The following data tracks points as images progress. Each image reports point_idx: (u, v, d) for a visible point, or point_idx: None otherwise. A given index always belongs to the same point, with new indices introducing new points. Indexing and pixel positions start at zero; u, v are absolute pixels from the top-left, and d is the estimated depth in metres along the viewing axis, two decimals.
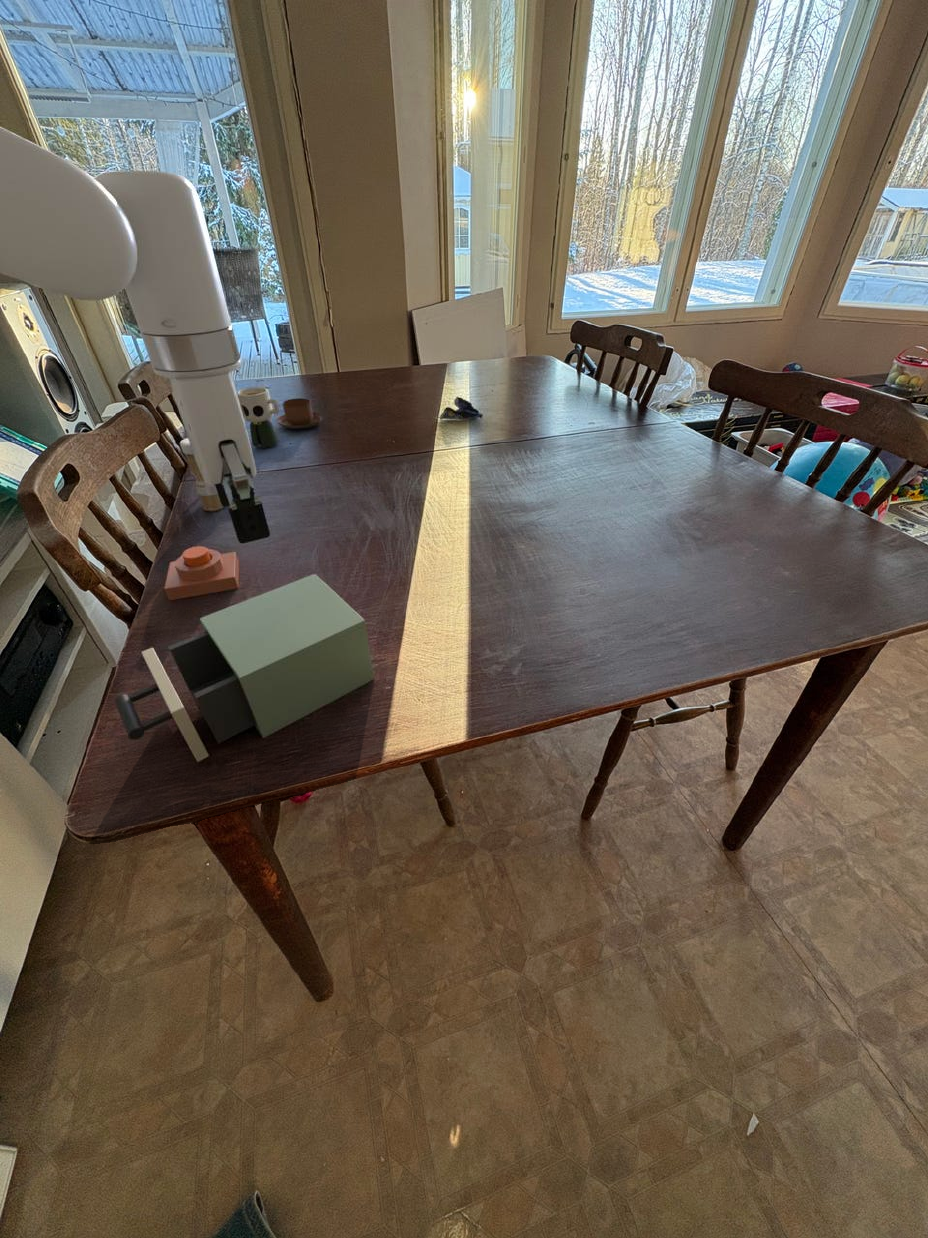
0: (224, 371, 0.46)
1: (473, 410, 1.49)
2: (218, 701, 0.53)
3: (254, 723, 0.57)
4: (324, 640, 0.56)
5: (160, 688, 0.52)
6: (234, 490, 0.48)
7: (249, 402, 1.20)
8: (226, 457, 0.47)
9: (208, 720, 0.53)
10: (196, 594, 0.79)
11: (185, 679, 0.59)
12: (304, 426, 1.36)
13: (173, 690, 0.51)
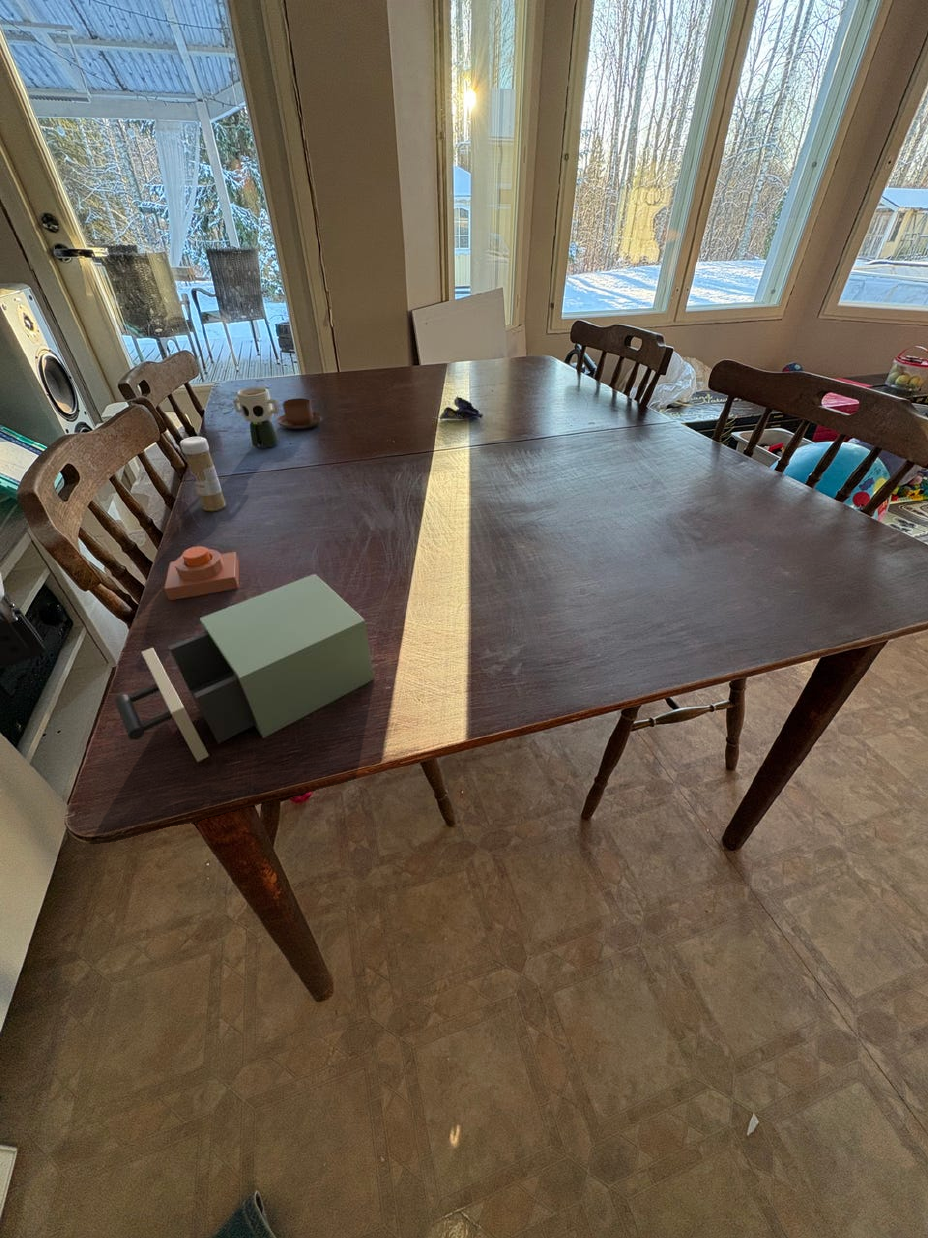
0: None
1: (473, 410, 1.49)
2: (218, 701, 0.53)
3: (254, 723, 0.57)
4: (324, 640, 0.56)
5: (160, 688, 0.52)
6: None
7: (249, 402, 1.20)
8: None
9: (208, 720, 0.53)
10: (196, 594, 0.79)
11: (185, 679, 0.59)
12: (304, 426, 1.36)
13: (173, 690, 0.51)
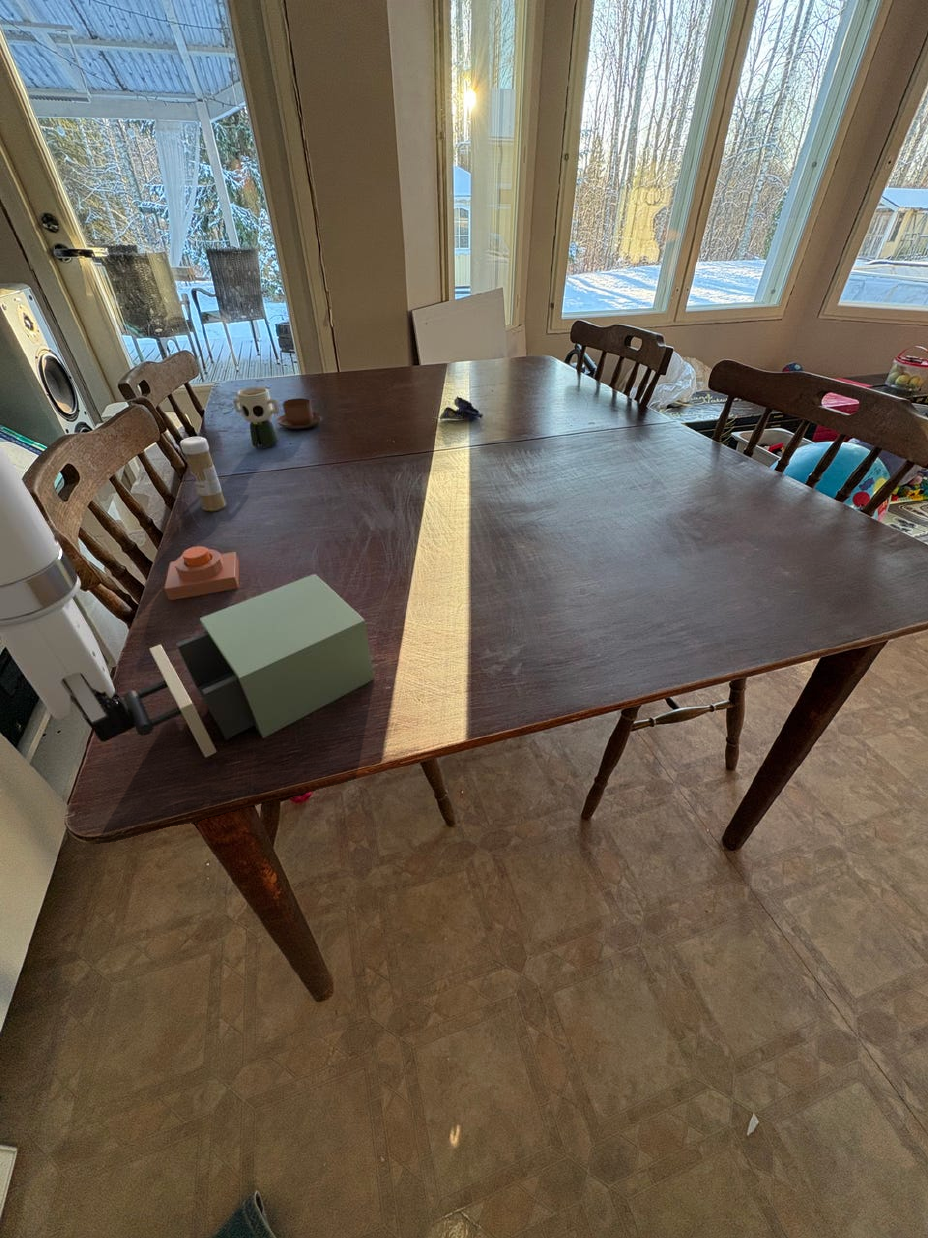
0: (57, 606, 0.41)
1: (473, 410, 1.49)
2: (226, 697, 0.53)
3: None
4: (324, 640, 0.56)
5: (169, 684, 0.52)
6: None
7: (249, 402, 1.20)
8: (79, 701, 0.44)
9: (216, 716, 0.53)
10: (196, 594, 0.79)
11: (192, 676, 0.60)
12: (304, 426, 1.36)
13: (181, 686, 0.52)
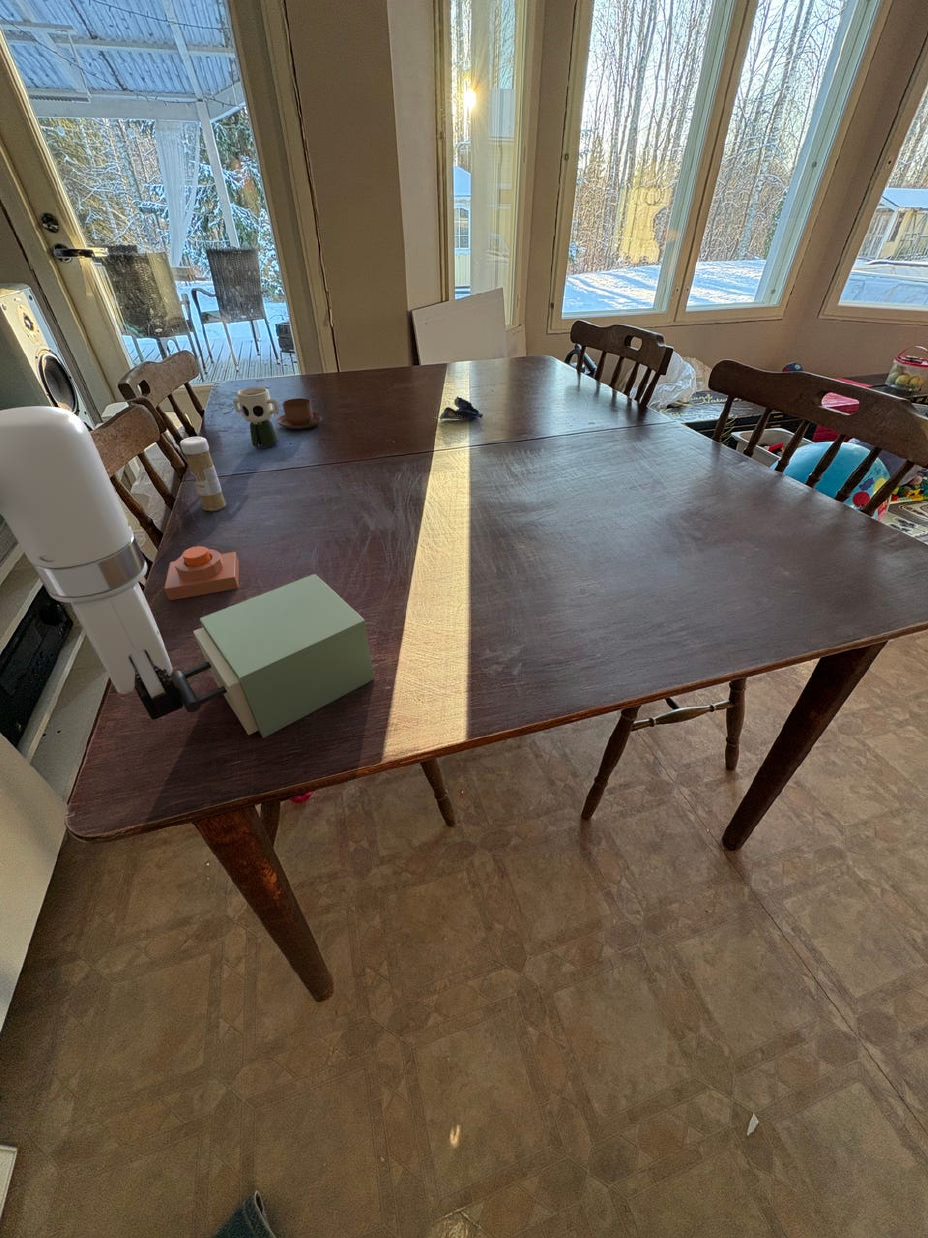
0: (129, 586, 0.43)
1: (473, 410, 1.49)
2: None
3: None
4: (324, 640, 0.56)
5: (215, 664, 0.54)
6: (143, 683, 0.49)
7: (249, 402, 1.20)
8: (142, 677, 0.46)
9: None
10: (196, 594, 0.79)
11: None
12: (304, 426, 1.36)
13: (228, 666, 0.54)
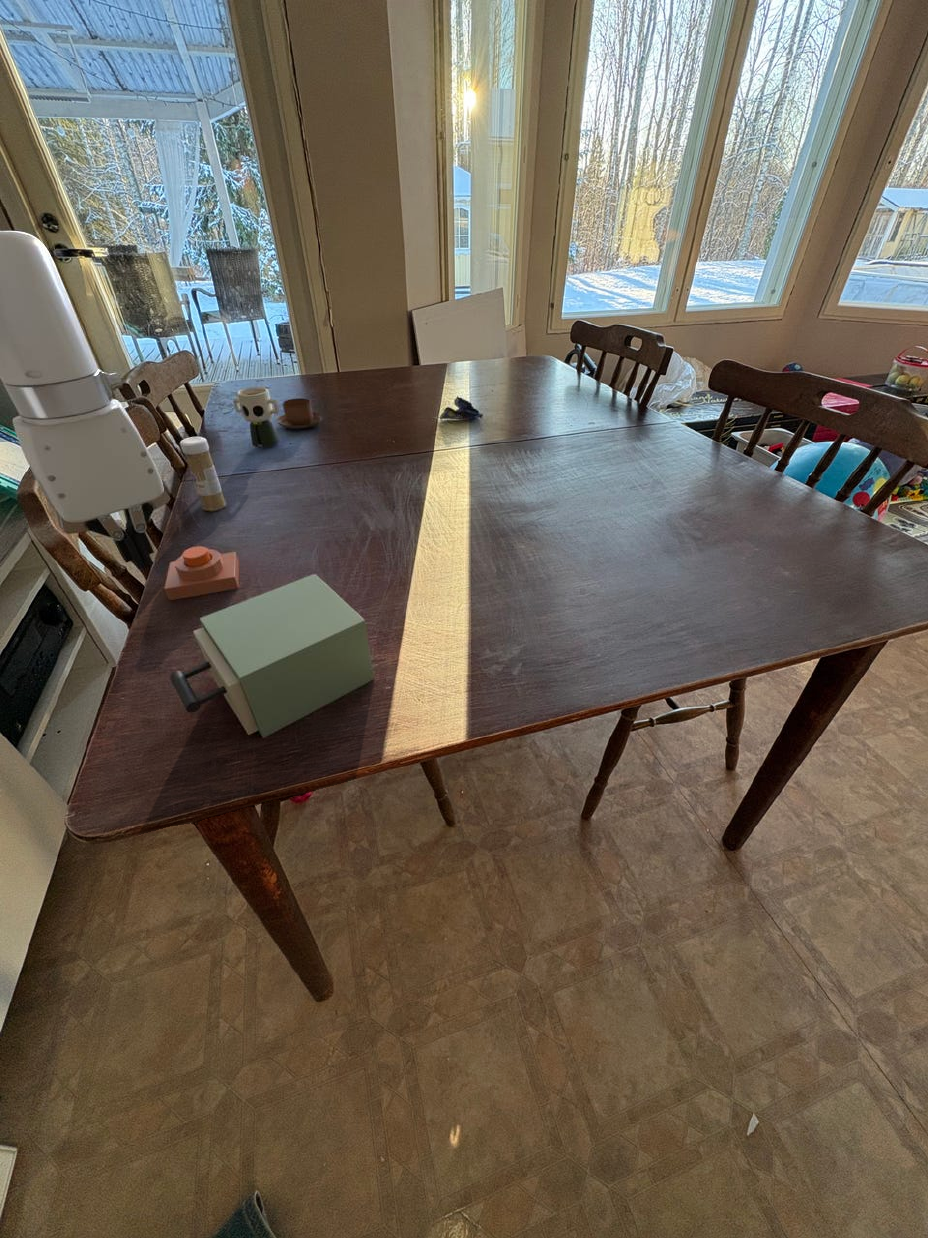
0: (32, 422, 0.46)
1: (473, 410, 1.49)
2: None
3: None
4: (324, 640, 0.56)
5: (215, 664, 0.54)
6: None
7: (249, 402, 1.20)
8: None
9: None
10: (196, 594, 0.79)
11: None
12: (304, 426, 1.36)
13: (228, 666, 0.54)
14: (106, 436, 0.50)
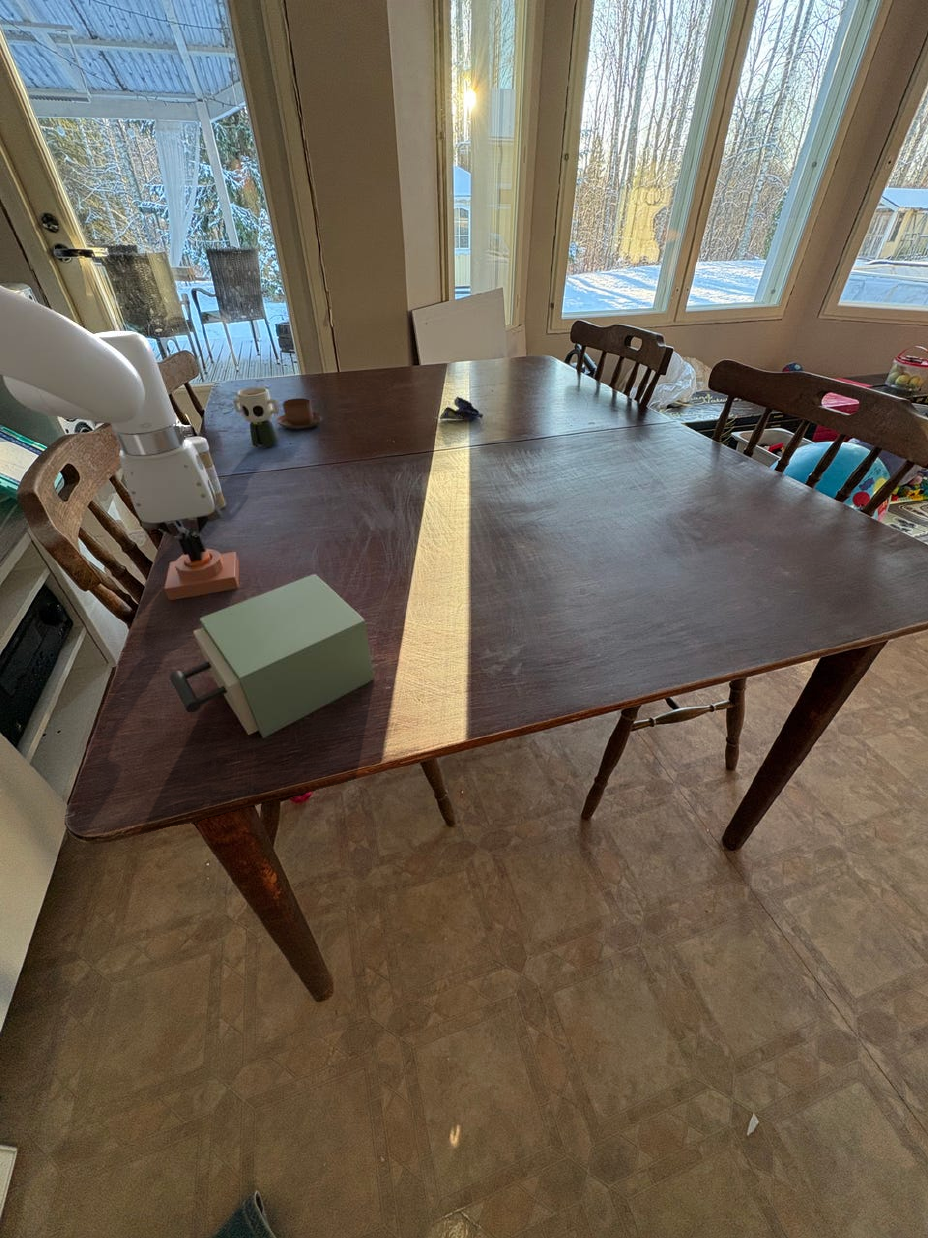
0: (125, 455, 0.67)
1: (473, 410, 1.49)
2: None
3: None
4: (324, 640, 0.56)
5: (215, 664, 0.54)
6: None
7: (249, 402, 1.20)
8: None
9: None
10: (196, 594, 0.79)
11: None
12: (304, 426, 1.36)
13: (228, 666, 0.54)
14: (172, 469, 0.69)
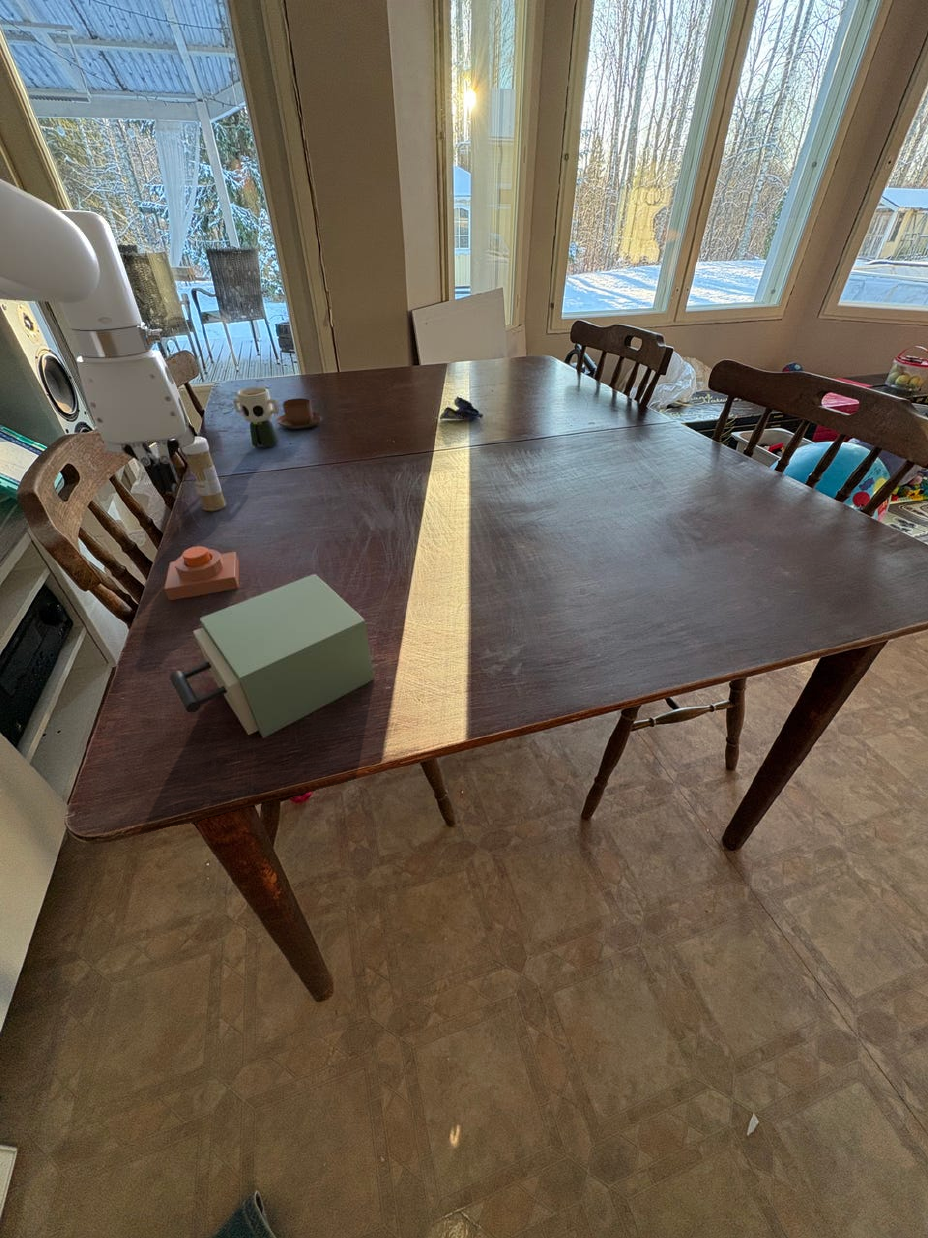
0: (82, 359, 0.59)
1: (473, 410, 1.49)
2: None
3: None
4: (324, 640, 0.56)
5: (215, 664, 0.54)
6: None
7: (249, 402, 1.20)
8: None
9: None
10: (196, 594, 0.79)
11: None
12: (304, 426, 1.36)
13: (228, 666, 0.54)
14: (136, 379, 0.61)
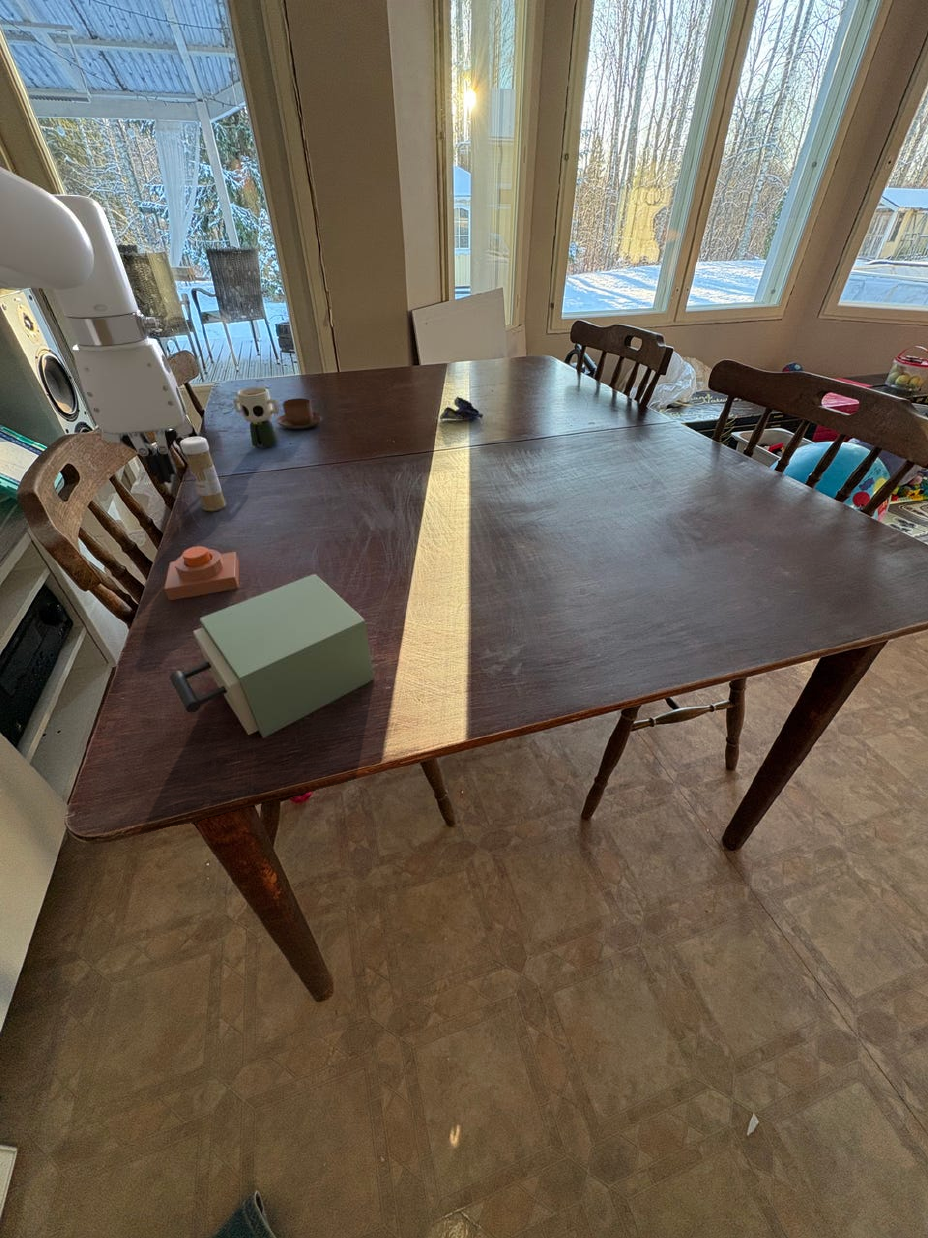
0: (78, 347, 0.59)
1: (473, 410, 1.49)
2: None
3: None
4: (324, 640, 0.56)
5: (215, 664, 0.54)
6: None
7: (249, 402, 1.20)
8: None
9: None
10: (196, 594, 0.79)
11: None
12: (304, 426, 1.36)
13: (228, 666, 0.54)
14: (133, 367, 0.61)
